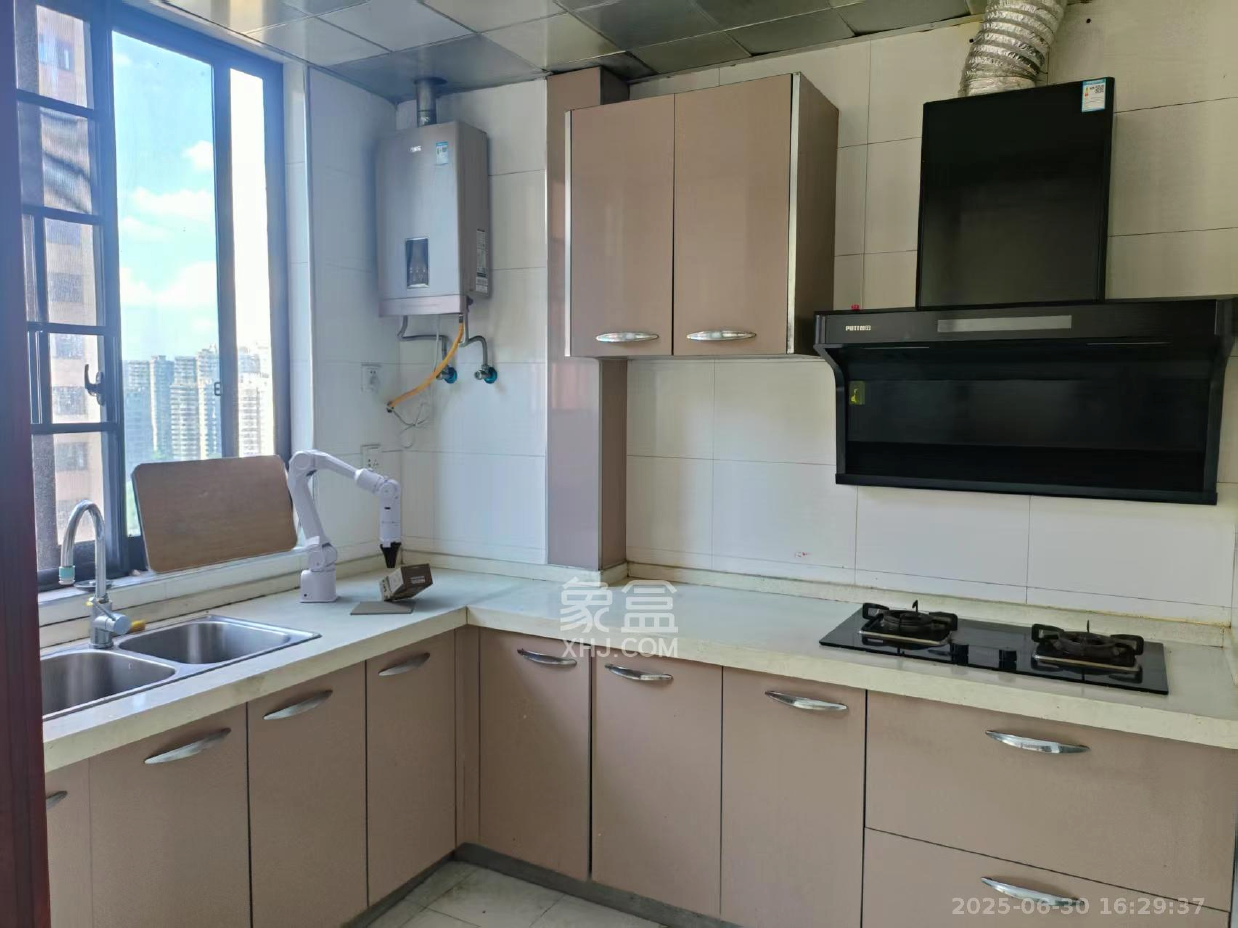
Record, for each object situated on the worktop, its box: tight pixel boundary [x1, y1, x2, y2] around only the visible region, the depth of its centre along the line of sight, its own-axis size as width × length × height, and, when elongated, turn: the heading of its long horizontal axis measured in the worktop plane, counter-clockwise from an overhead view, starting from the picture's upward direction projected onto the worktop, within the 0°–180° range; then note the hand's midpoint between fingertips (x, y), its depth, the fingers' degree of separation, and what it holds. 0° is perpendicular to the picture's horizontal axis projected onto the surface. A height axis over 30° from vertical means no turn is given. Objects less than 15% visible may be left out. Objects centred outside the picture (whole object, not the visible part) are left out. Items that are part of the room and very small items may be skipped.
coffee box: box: [378, 563, 434, 601], centre depth 244 cm, size 9×6×16 cm
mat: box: [349, 600, 418, 616], centre depth 239 cm, size 16×14×1 cm
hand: (391, 567), depth 250 cm, fingers closed
